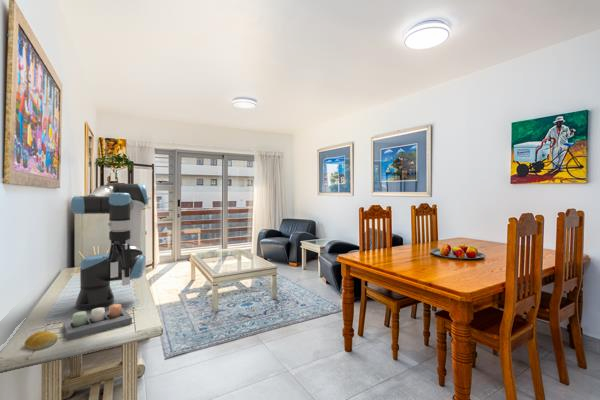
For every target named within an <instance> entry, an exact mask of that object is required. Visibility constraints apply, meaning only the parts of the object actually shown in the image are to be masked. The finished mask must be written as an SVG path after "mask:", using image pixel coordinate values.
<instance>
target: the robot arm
mask: <svg viewBox="0 0 600 400" xmlns="http://www.w3.org/2000/svg"><path fill="white" fill-rule="evenodd" d="M148 201H149V199H148V193H147V186H146V184H142V183H121V182H120V183H118V182H116V183H115V182H114V183H107V184H104V185H103V184H102V185H100V186H98V187H96V188H95V189H94V190H93V191H92V192H91V193H89V194H87V195H78V196H77V195H76V196H73V197H72V198H71V202H70V203H71V204H70V208H71V212H72V213H73V214H78V215H95V214H97V215H99V214H100V215H102V214H103V215H104V214H106V215H108V214H109V218H108V220H109V222H107V226H109V228H108V229H109V232H108V237H109V238H108V239H109V241H110V248H109V251H108V252H109V253H98V254H93V255H89V256H86V257H84V258H82V260H80V268H79V273H80V276H79V277H80V278H79V279H80V282H79V285H80V287H79V288H80V290H79V293H78V296H77V298H76V301H75V309H77V310H80V311H89V310H90V311H92V310H93V309H95V308H105V307H107V306H108V307H109V306H111V305H113V303H114V302H115V295H114V293H113V290H112V287H111V282H115V281H121V285H122V286H124V287H125V286H128V285H131V280H136V279H140V278H142V276H143V274H144V271H145V265H146V259H147V258H146V254H143V251H142V250H141V248H140V244H141V228H142V227H141V225H142V210H144V208H145V207H146V205H148V204H149V202H148Z"/></svg>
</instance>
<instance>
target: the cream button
mask: <svg viewBox="0 0 600 400" xmlns="http://www.w3.org/2000/svg"><path fill="white" fill-rule="evenodd" d="M105 309H106V308H105V307H102V308H95V309H91V310H90V311H91V314H90V315H91V321H92V322H98V321H101V320H104V319H105V312H106V311H105Z"/></svg>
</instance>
